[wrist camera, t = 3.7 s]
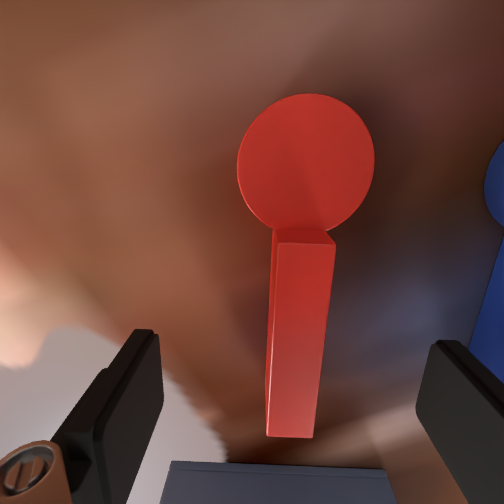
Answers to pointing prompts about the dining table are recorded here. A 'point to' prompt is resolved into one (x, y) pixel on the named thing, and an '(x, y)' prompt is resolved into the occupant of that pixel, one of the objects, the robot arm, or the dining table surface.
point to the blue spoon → (493, 280)
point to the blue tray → (273, 484)
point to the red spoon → (302, 235)
